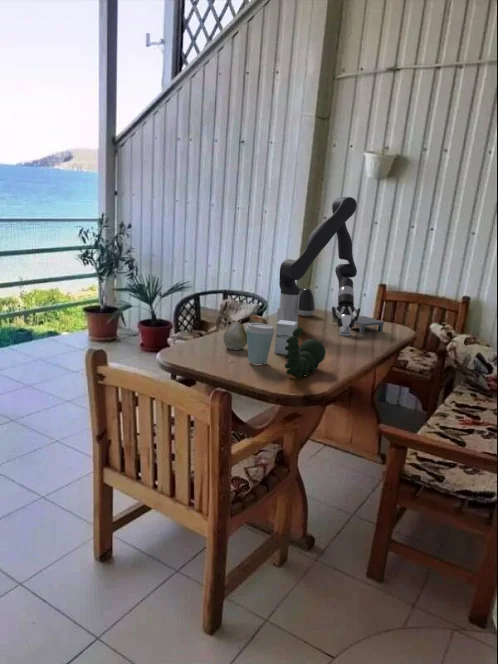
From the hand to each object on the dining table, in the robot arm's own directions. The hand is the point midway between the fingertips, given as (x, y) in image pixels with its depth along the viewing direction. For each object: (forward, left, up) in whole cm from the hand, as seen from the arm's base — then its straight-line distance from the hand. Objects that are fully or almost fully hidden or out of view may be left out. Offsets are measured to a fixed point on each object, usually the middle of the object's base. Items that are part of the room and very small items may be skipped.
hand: (345, 326), depth 238 cm
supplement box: (-44, -14, -4) cm, 46 cm away
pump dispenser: (+8, +44, -4) cm, 45 cm away
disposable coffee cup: (-62, -23, -4) cm, 66 cm away
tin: (-39, +16, -4) cm, 42 cm away
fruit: (-61, -3, -4) cm, 61 cm away
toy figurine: (-52, -39, -4) cm, 65 cm away
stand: (+17, +7, -4) cm, 19 cm away
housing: (+1, +2, -4) cm, 5 cm away
